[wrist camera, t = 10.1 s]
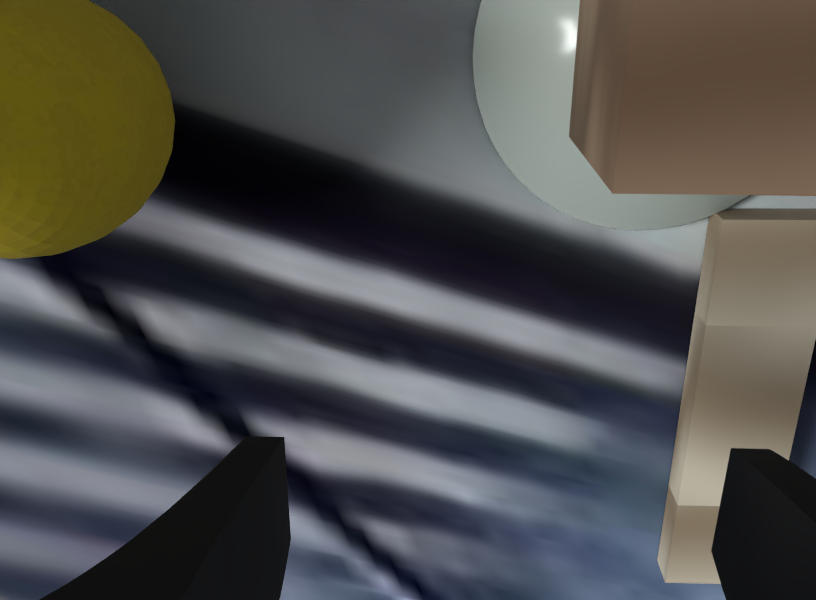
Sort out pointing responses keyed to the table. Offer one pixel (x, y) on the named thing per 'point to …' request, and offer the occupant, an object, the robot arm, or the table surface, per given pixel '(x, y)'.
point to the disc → (556, 118)
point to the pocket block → (739, 369)
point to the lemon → (75, 125)
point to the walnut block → (697, 96)
